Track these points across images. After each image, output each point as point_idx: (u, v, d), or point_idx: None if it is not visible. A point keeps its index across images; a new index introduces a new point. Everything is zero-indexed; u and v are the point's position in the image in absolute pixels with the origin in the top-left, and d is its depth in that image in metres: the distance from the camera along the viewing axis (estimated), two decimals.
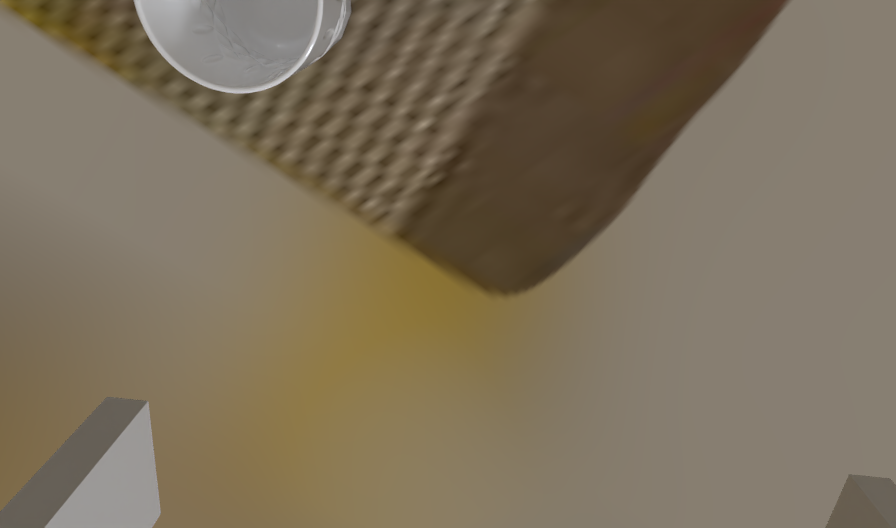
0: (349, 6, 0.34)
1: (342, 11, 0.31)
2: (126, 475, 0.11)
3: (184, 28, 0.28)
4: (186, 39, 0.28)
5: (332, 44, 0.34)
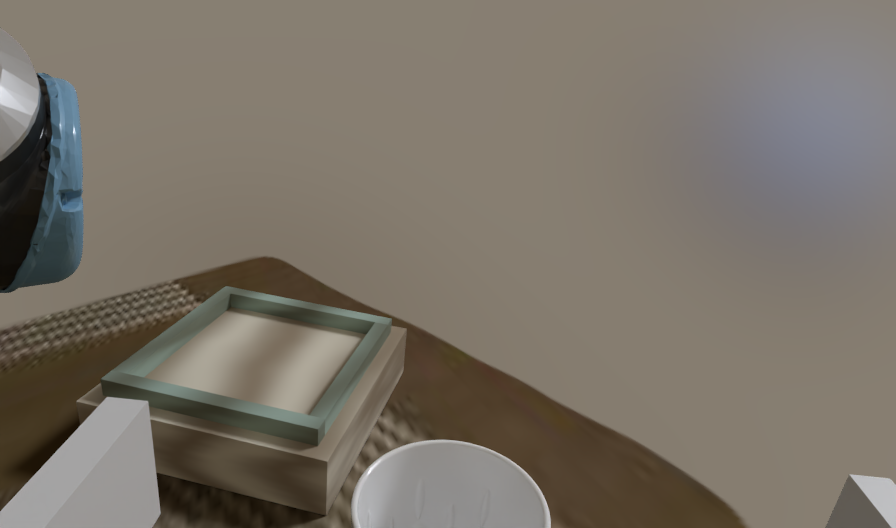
0: None
1: None
2: (126, 475, 0.11)
3: None
4: None
5: None
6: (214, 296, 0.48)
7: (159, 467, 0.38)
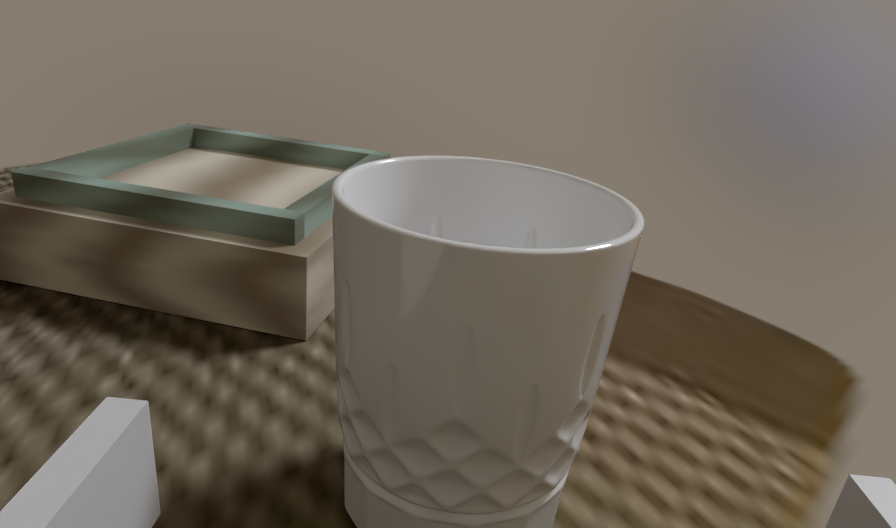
0: None
1: None
2: (126, 475, 0.11)
3: None
4: None
5: None
6: (173, 128, 0.40)
7: (89, 288, 0.29)
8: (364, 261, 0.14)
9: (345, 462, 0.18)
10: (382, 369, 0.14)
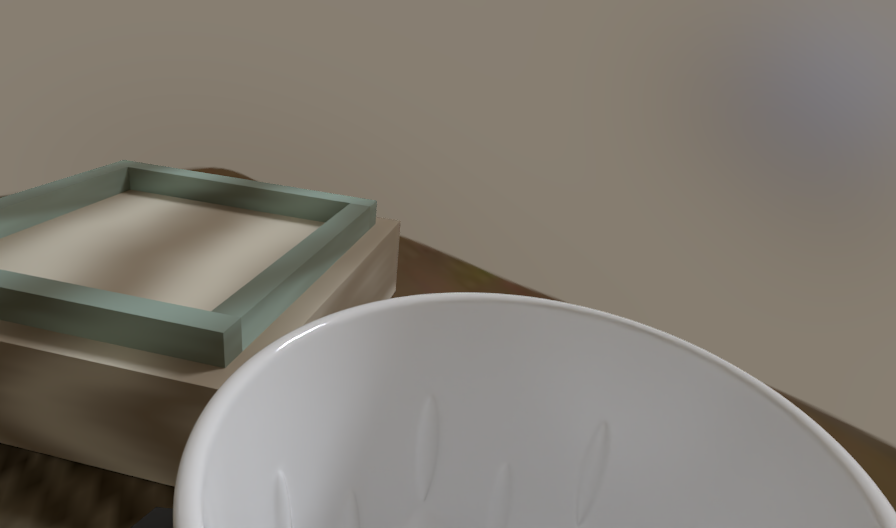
0: None
1: None
2: None
3: None
4: None
5: None
6: (100, 168, 0.31)
7: None
8: None
9: None
10: None
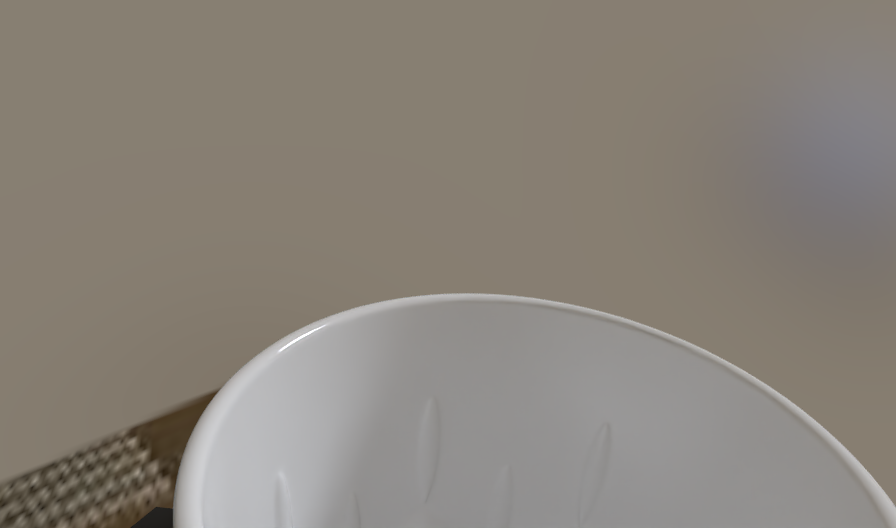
0: None
1: None
2: None
3: None
4: None
5: None
6: None
7: None
8: None
9: None
10: None
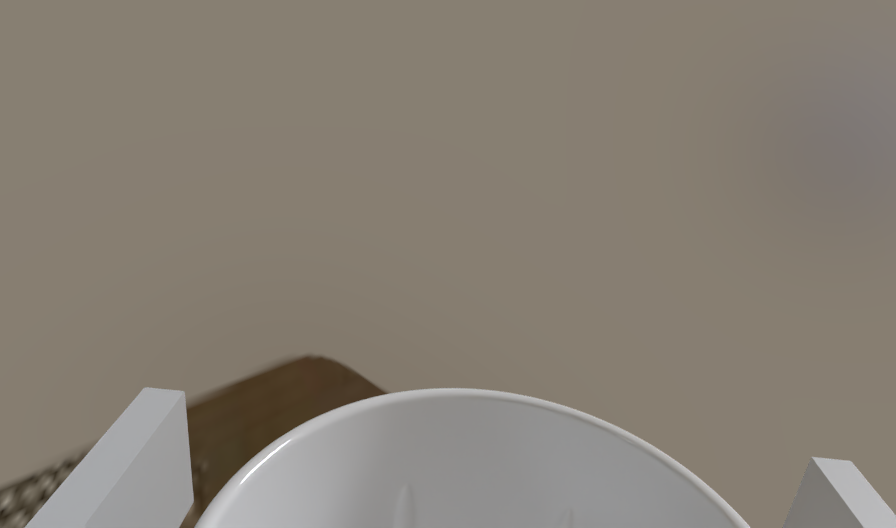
0: None
1: None
2: (165, 462, 0.11)
3: None
4: None
5: None
6: None
7: None
8: None
9: None
10: None
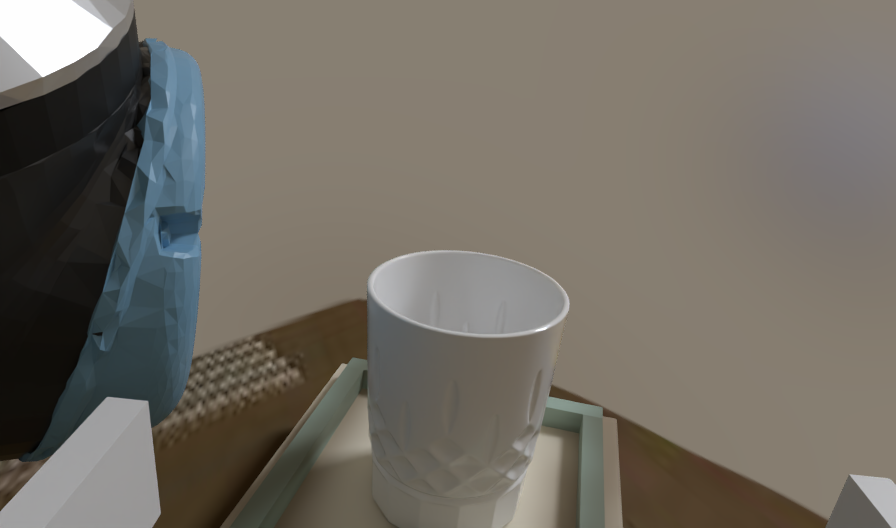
0: None
1: None
2: (126, 475, 0.11)
3: None
4: None
5: None
6: (342, 375, 0.33)
7: None
8: (389, 337, 0.22)
9: (373, 464, 0.26)
10: (400, 404, 0.23)
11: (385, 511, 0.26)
